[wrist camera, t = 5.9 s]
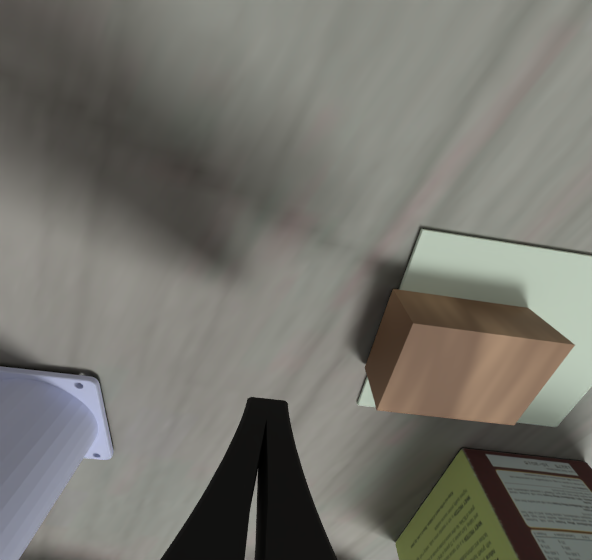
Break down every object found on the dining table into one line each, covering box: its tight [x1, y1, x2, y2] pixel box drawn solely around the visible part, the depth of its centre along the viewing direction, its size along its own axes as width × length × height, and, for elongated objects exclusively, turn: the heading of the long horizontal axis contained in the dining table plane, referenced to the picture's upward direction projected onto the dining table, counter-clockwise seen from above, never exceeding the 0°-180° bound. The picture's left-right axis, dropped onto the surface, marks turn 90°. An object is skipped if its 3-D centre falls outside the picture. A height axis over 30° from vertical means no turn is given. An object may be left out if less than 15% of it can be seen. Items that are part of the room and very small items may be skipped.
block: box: [365, 289, 575, 425], centre depth 15 cm, size 3×6×8 cm
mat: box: [357, 229, 592, 427], centre depth 17 cm, size 14×12×1 cm
